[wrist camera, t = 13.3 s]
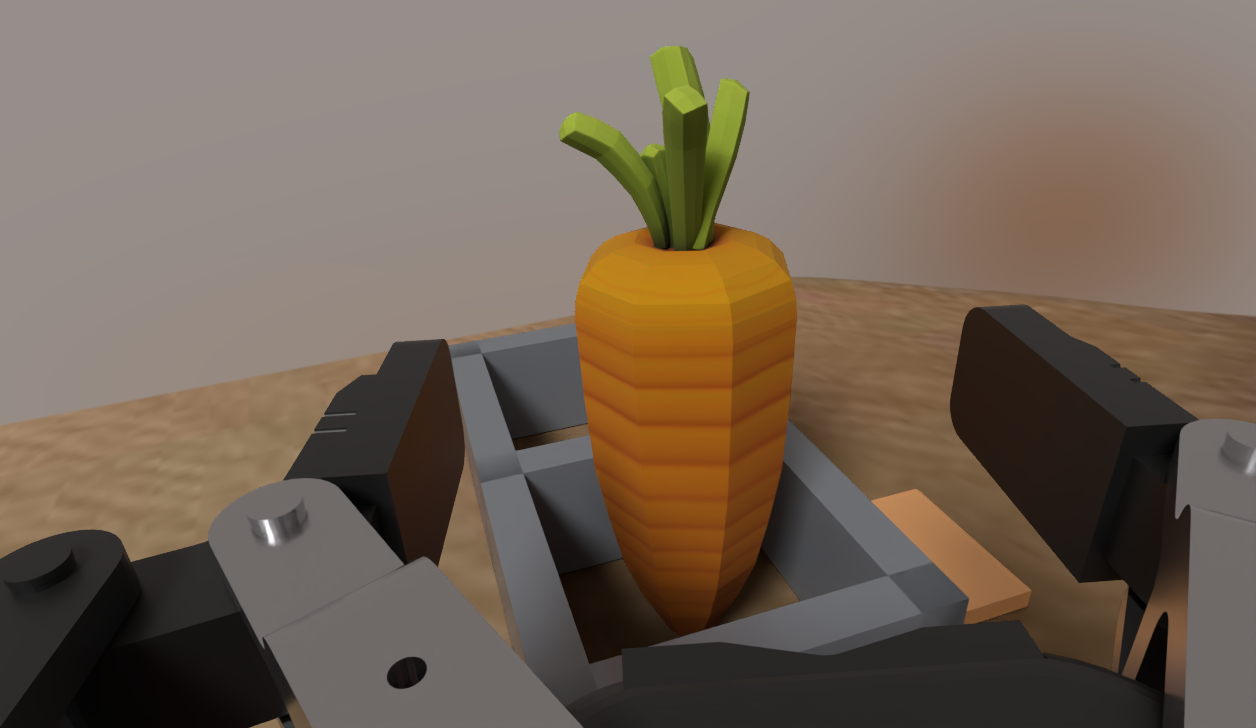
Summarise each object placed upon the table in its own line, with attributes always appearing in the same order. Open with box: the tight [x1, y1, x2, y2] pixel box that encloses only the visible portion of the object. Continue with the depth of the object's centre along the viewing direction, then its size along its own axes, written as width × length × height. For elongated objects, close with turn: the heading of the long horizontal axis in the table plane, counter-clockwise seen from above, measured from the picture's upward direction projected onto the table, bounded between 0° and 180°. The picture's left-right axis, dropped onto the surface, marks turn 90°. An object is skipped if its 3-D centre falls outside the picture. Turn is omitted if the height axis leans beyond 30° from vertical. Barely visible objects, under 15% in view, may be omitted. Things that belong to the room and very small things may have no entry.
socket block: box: [449, 323, 1032, 707], centre depth 24 cm, size 14×18×4 cm
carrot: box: [559, 46, 797, 637], centre depth 17 cm, size 5×5×15 cm
